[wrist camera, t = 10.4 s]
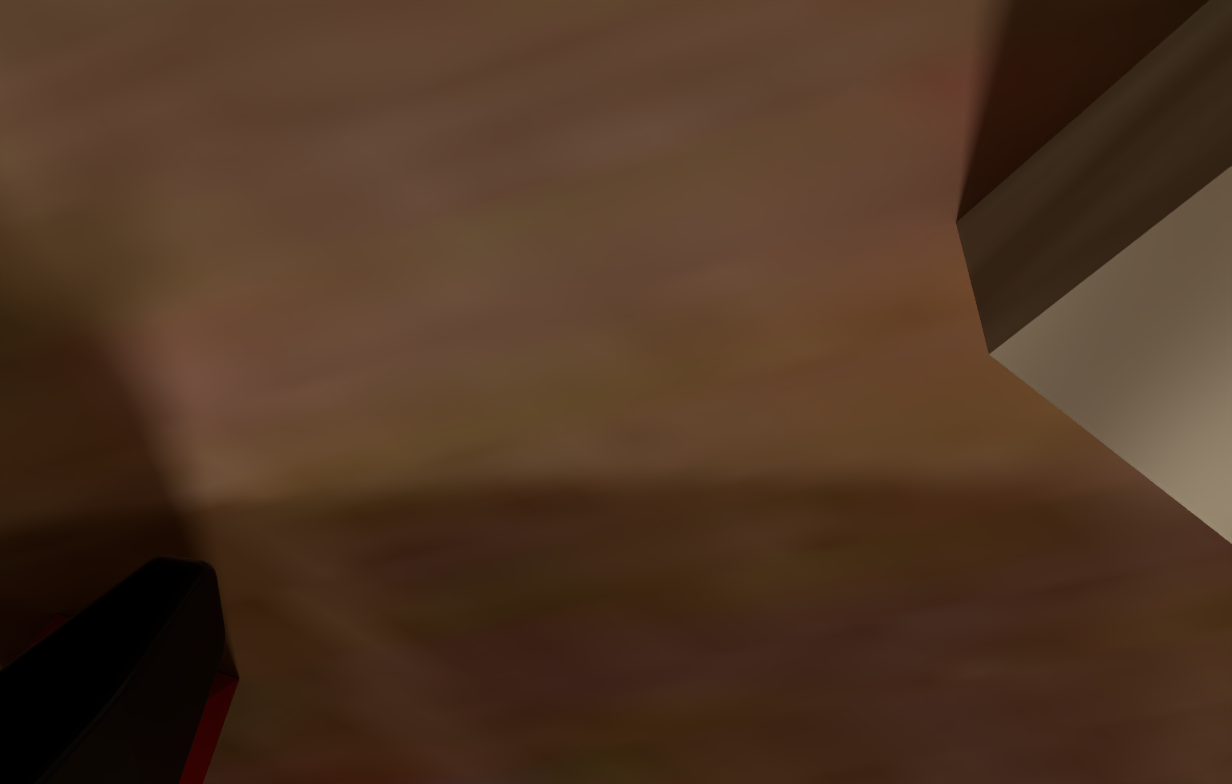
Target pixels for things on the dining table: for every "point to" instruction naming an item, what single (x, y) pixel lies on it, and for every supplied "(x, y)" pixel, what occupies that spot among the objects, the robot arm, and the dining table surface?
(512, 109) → the dining table surface
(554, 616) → the dining table surface
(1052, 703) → the dining table surface
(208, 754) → the french fries
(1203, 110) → the birch block
